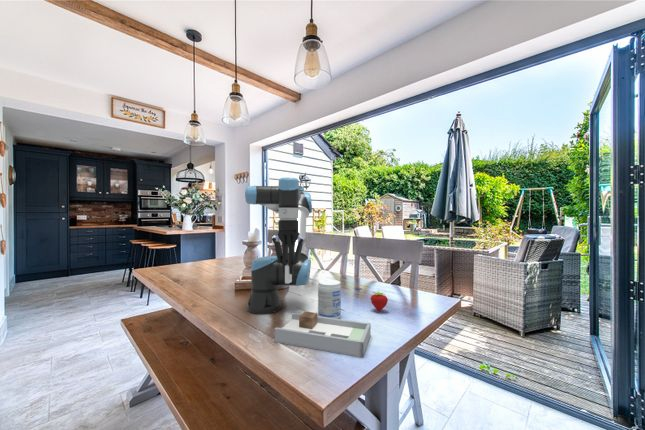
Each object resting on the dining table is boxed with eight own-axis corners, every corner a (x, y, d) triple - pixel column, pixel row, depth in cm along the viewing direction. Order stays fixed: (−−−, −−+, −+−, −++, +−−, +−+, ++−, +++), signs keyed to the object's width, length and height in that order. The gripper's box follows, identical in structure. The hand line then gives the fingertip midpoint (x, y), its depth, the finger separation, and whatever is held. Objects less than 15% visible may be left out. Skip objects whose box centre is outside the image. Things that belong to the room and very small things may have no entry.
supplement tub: (337, 322, 107) (337, 285, 107) (314, 319, 110) (315, 283, 110) (343, 314, 116) (343, 280, 116) (322, 311, 119) (322, 278, 119)
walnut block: (299, 327, 97) (299, 316, 97) (304, 321, 101) (304, 311, 101) (312, 329, 95) (312, 317, 95) (316, 323, 100) (316, 312, 100)
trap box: (274, 341, 91) (274, 328, 91) (293, 324, 105) (293, 312, 105) (363, 357, 81) (363, 342, 81) (370, 335, 96) (370, 323, 96)
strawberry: (386, 315, 115) (386, 291, 115) (368, 312, 118) (368, 289, 118) (389, 310, 120) (389, 288, 120) (372, 308, 124) (372, 286, 123)
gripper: (268, 219, 99) (267, 283, 99) (300, 219, 95) (300, 286, 95) (277, 219, 106) (277, 278, 106) (308, 219, 102) (308, 281, 102)
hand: (288, 282), depth 101 cm, fingers closed
